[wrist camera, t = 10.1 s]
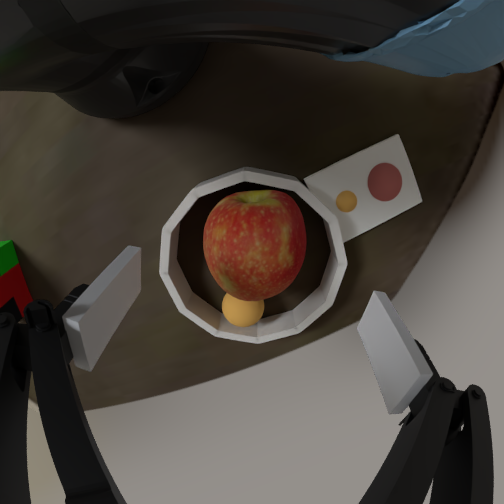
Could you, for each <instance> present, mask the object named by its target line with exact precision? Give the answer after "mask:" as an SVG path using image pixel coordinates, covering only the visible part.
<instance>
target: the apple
mask: <svg viewBox="0 0 504 504" xmlns="http://www.w3.org/2000/svg"><path fill="white" fill-rule="evenodd" d="M306 244H307V240H306V230H305V224H304V219H303V216H302V213H301V211H300V209H299V207H298V206H297V204H296V202H295V201H294V200H293V199H292V198H291V197H290V196H289V195H288V194H286V193H284V192H281V191H277V190H255V191H243V192H237V193H234V194H231V195H229V196H226V197H225V198H223V199H222V200H221V201H220V202H218V203H217V204H216V206H215V207H214V208H213V210H212V211H211V213H210V214H209V216H208V218H207V221H206V224H205V227H204V236H203V248H204V255H205V259H206V262H207V265H208V268H209V270H210V272H211V274H212V275H213V277H214V279H215V280H216V282H217V283H218V284H219V286H220V287H221V288H222V289H223V290H224V291H226V292H227V293H228V294H230V295H231V296H233V297H235V298H237V299H239V300H243V301H260V300H263V299H267V298H270V297H273V296H275V295H277V294H279V293H280V292H282V291H283V290H285V289H286V288H287V287H288V286H289V285H290V284H291V283H292V282H293V281H294V279H295V278H296V276H297V274H298V273H299V271H300V269H301V266H302V264H303V261H304V258H305V252H306Z"/></svg>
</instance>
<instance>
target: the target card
mask: <svg viewBox="0 0 504 504" xmlns="http://www.w3.org/2000/svg"><path fill="white" fill-rule="evenodd" d="M304 181H305V183H306V185H307V187H308V189H309V190H310V191H311V192H312V193H313V194H314V195H315V196H316V197H317V198H318V199H319V200H320V201H321V202H322V203H323V204H325V205H326V206H327V207H328V208H329V209H330V210H331V212H332V213H333V214H334V215H335V216H336V217H337V219H338V223H339V227H340V232H341V236H342V240H343V243H344V242H346V241H348V240H350V239H352V238H354V237H356V236H358V235H360V234H362V233H364V232H366V231H368V230H370V229H372V228H373V227H375V226H377V225H379V224H381V223H383V222H385V221H387V220H389V219H391V218H393V217H395V216H396V215H398V214H400V213H402V212H404V211H406V210H408V209H410V208H412V207H413V206H415V205H417V204H419V203H421V202H422V198H421V195H420V192H419V188H418V185H417V182H416V179H415V176H414V173H413V170H412V168H411V165H410V162H409V159H408V157H407V154H406V151H405V149H404V146H403V144H402V141H401V139H400V136H399V134H396V135H394V136H392V137H389V138H387V139H385V140H383V141H381V142H378V143H376V144H374V145H372V146H370V147H368V148H366V149H363V150H361V151H359V152H357V153H355V154H353V155H351V156H349V157H347V158H344V159H342V160H340V161H338V162H336V163H334V164H332V165H330V166H328V167H326V168H324V169H322V170H320V171H318V172H316V173H314V174H312V175H310V176H308V177H306V178H304ZM322 218H323V217H322Z"/></svg>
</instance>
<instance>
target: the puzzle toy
mask: <svg viewBox="0 0 504 504" xmlns="http://www.w3.org/2000/svg"><path fill="white" fill-rule="evenodd" d="M32 301H33V299H32V297H31V294H30V292H29V289H28V287H27V284H26V281H25V279H24V276H23V273H22V270H21V267H20V264H19V261H18V258H17V255H16V252H15V248H14V245H13V242H12V240H8V241H2V242H0V313H3V312H8V313H11V314H12V315H14V317H15V320H16V323H18V322H19V321H20V320H21V319H22V318H23V317H24V313H23V311H24V308H25V306H26V305H27V304H28V303H30V302H32Z"/></svg>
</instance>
